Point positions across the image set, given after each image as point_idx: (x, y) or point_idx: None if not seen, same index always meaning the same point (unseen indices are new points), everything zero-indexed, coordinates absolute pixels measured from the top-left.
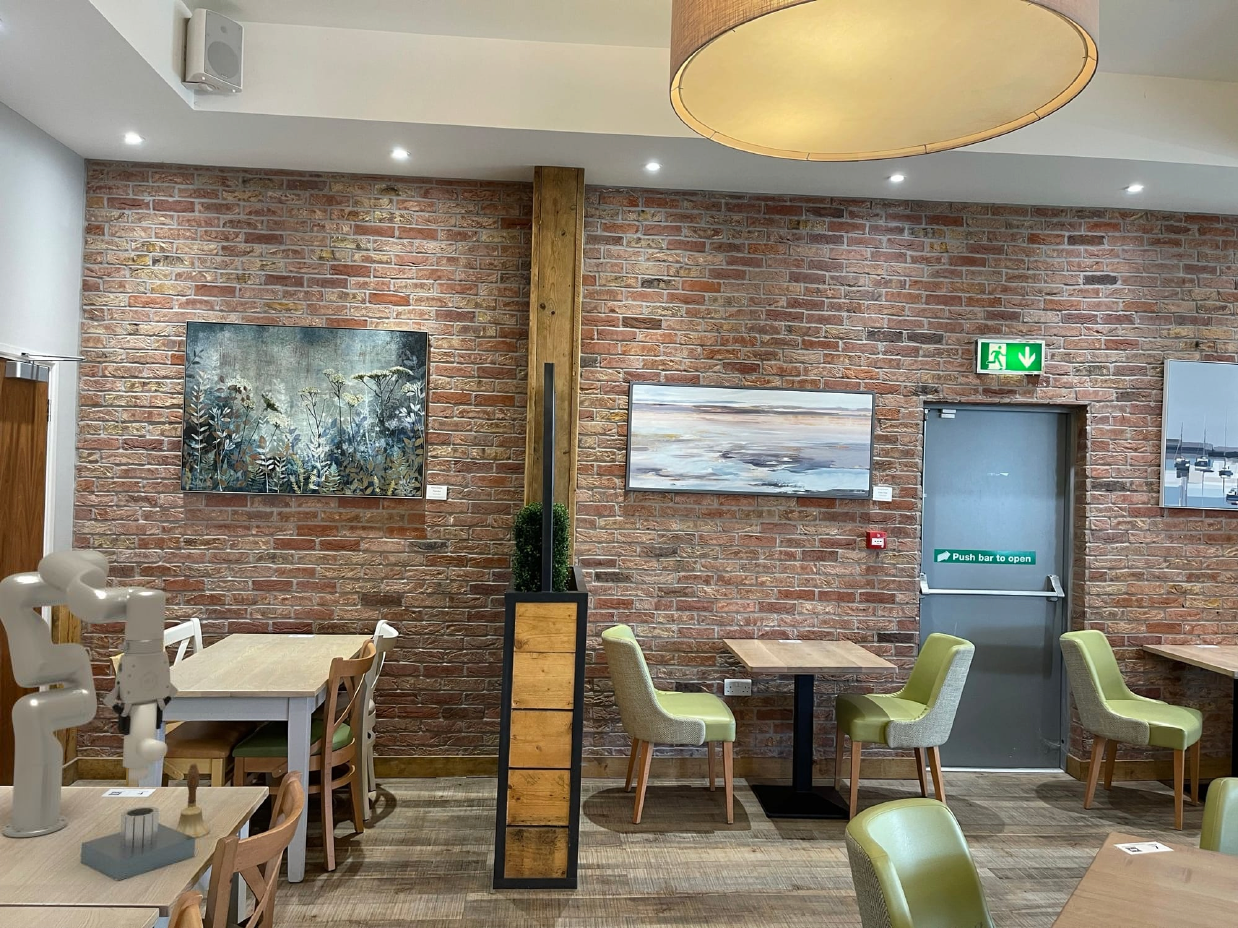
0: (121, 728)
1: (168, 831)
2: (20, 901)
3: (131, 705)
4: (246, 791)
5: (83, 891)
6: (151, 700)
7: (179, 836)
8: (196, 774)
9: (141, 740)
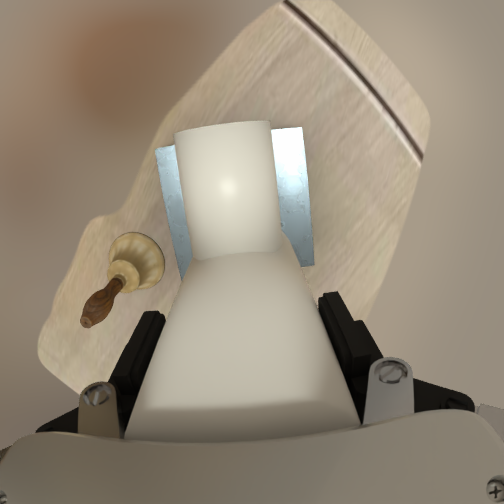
0: (363, 324)
1: (179, 218)
2: (412, 161)
3: None
4: (50, 360)
5: (347, 127)
6: None
7: (173, 176)
8: (89, 301)
9: (263, 247)
